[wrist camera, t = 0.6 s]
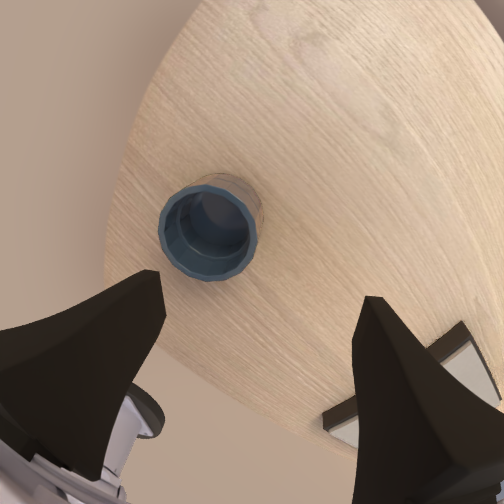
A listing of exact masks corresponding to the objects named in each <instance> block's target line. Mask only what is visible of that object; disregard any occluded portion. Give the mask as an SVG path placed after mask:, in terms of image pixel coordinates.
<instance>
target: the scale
mask: <svg viewBox="0 0 504 504" xmlns="http://www.w3.org/2000/svg"><path fill="white" fill-rule="evenodd" d="M427 350H428V352H429V353H430V354H431V355H432V356H433V357H434V358H435V359H436V360H437V361H438V362H439V363H440V364H441V365H442V366H443V367H444V368H445V369H446V370H447V371H448V372H449V373H450V374H452V375H453V376H454V377H455V378H456V379H457V380H458V381H459V382H461V383H462V384H463V385H464V386H465V387H467V388H468V389H469V390H470V391H472V392H473V393H474V394H475V395H477V396H478V397H480V398H481V399H482V400H484V401H485V402H487V403H488V404H490V405H491V406H493V407H494V408H496V407H497V406H499V405H500V404H501V402H500V401H501V400H502V397H501V395H500V393H499V390H498V388H497V386H496V383H495V381H494V379H493V377H492V375H491V372H490V370H489V368H488V366H487V364H486V362H485V360H484V358H483V356H482V354H481V352H480V350H479V348H478V346H477V344H476V342H475V340H474V338H473V336H472V335H471V333H470V332H469V330H468V329H467V327H466V326H465V324H464V323H463V321H461V322H460V323H458V324H457V325H456V326H455V327H454V328H452V329H451V330H450V331H449V332H447V333H446V334H445V335H444V336H442V337H441V338H440V339H439V340H437V341H436V342H435V343H434V344H432V345H431V346H430V347H428V348H427ZM323 429H324V430H326V431H327V432H329V434H330V435H332V436H334V437H336V438H338V439H340V440H342V441H344V442H345V443H347V444H349V445H351V446H353V447H355V448H357V449H358V439H359V422H358V410H357V401H356V395H355V396H354V397H352V398H350V399H348V400H347V401H345V402H343V403H341V404H339V405H337V406H336V407H334V408H332V409H330V410H328V411H326V412H324V413H323Z"/></svg>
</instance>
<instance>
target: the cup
mask: <svg viewBox="0 0 504 504" xmlns="http://www.w3.org/2000/svg"><path fill="white" fill-rule="evenodd" d="M263 220H264V217H263V209H262V203H261V201H260V199H259V197H258V196H257V194H256V192H255V191H254V189H253V188H252V187H251V186H250V185H248V184H247V183H246V182H244V181H243V180H242V179H240V178H238V177H236V176H232V175H228V174H224V173H218V174H212V175H206V176H204V177H202V178H200V179H199V180H197V181H195V182H194V183H192V184H190V185H189V186H187V187H185V188H184V189H182V190H181V191H179V192H178V193H176V194H175V195H173V196H172V197H170V198H169V200H168V202H167V203H166V205H165V206H164V208H163V210H162V211H161V213H160V218H159V226H158V235H159V239H160V243H161V247H162V250H163V252H164V253H165V255H166V256H167V257H168V259H169V260H170V262H171V263H172V265H173V266H175V267H176V268H177V269H179V270H180V271H181V272H183V273H184V274H186V275H187V276H189V277H192V278H195V279H198V280H202V281H205V282H210V281H224V280H227V279H229V278H231V277H233V276H235V275H237V274H239V273H241V272H242V271H243V270H244V268H245V267H246V266H247V265H248V264H249V263H250V261H251V260H252V259H253V256H254V253H255V249H256V246H257V242H258V239H259V235H260V231H261V228H262V224H263Z"/></svg>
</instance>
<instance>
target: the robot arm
mask: <svg viewBox="0 0 504 504" xmlns="http://www.w3.org/2000/svg"><path fill="white" fill-rule="evenodd" d="M166 316H167V315H166V310H165V304H164V298H163V292H162V286H161V280H160V273H159V272H158V271H152V270H142V271H140V272H138V273H136V274H134V275H132V276H130V277H128V278H126V279H124V280H123V281H121V282H119V283H117V284H115V285H113V286H112V287H110V288H108V289H106V290H104V291H103V292H101V293H99V294H97V295H95V296H93V297H91V298H89V299H87V300H85V301H83V302H81V303H80V304H77V305H76V306H73V307H71V308H69V309H67V310H65V311H63V312H60V313H57V314H55V315H52V316H50V317H47V318H44V319H41V320H38V321H35V322H32V323H29V324H26V325H22V326H19V327H15V328H10V329H6V330H1V331H0V504H130V503H128V502H126V492H125V490H124V488H123V487H122V486H121V485H120V484H121V481H122V479H120V478H119V476H120V474H121V472H122V469H123V467H124V465H125V463H126V460H127V458H128V456H129V453H130V451H131V449H132V447H133V444H134V442H135V440H136V438H137V435H138V434H141V435H146V436H153V434H154V433H153V432H152V430H151V429H150V427H149V426H148V424H147V423H146V421H145V420H144V418H143V417H142V415H141V414H140V412H139V411H138V409H137V408H136V406H135V404H134V403H133V401H132V400H131V398H130V397H129V396H126V393H127V391H128V389H129V387H130V385H131V383H132V381H133V379H134V378H135V376H136V374H137V373H138V371H139V369H140V367H141V366H142V364H143V362H144V360H145V359H146V357H147V355H148V354H149V352H150V350H151V348H152V347H153V345H154V343H155V341H156V340H157V338H158V336H159V333H160V331H161V329H162V326H163V324H164V321H165V318H166ZM352 368H353V376H354V384H355V392H356V401H357V410H358V422H359V439H358V458H357V469H356V478H355V486H354V493H353V500H352V504H504V499H502V500H500V501H498V502H497V501H496V495H497V494H499V493H500V492H501V484H500V482H501V481H503V480H504V413H502V412H500V411H499V410H497V409H496V408H494V407H493V406H491V405H490V404H488V403H487V402H485V401H484V400H482V399H481V398H480V397H478V396H477V395H475V394H474V393H473V392H472V391H470V390H469V389H468V388H467V387H465V386H464V385H463V384H462V383H461V382H459V381H458V380H457V379H456V378H455V377H454V376H453V375H452V374H450V373H449V372H448V371H447V370H446V369H445V368H444V367H443V366H442V365H441V364H440V363H439V362H438V361H437V360H436V359H435V358H434V357H433V356H432V355H431V354H430V353H429V352H428V350H427V349H426V348H425V347H424V346H423V345H422V344H421V343H420V342H419V340H418V339H417V338H416V337H415V336H414V335H413V333H412V332H411V331H410V330H409V329H408V327H407V326H406V325H405V324H404V323H403V321H402V320H401V319H400V318H399V316H398V315H397V314H396V313H395V312H394V310H393V309H392V308H391V307H390V305H389V304H388V303H387V302H386V301H385V300H384V299H383V297H375V296H365V299H364V303H363V306H362V309H361V313H360V316H359V319H358V323H357V326H356V329H355V332H354V335H353V338H352Z"/></svg>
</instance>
